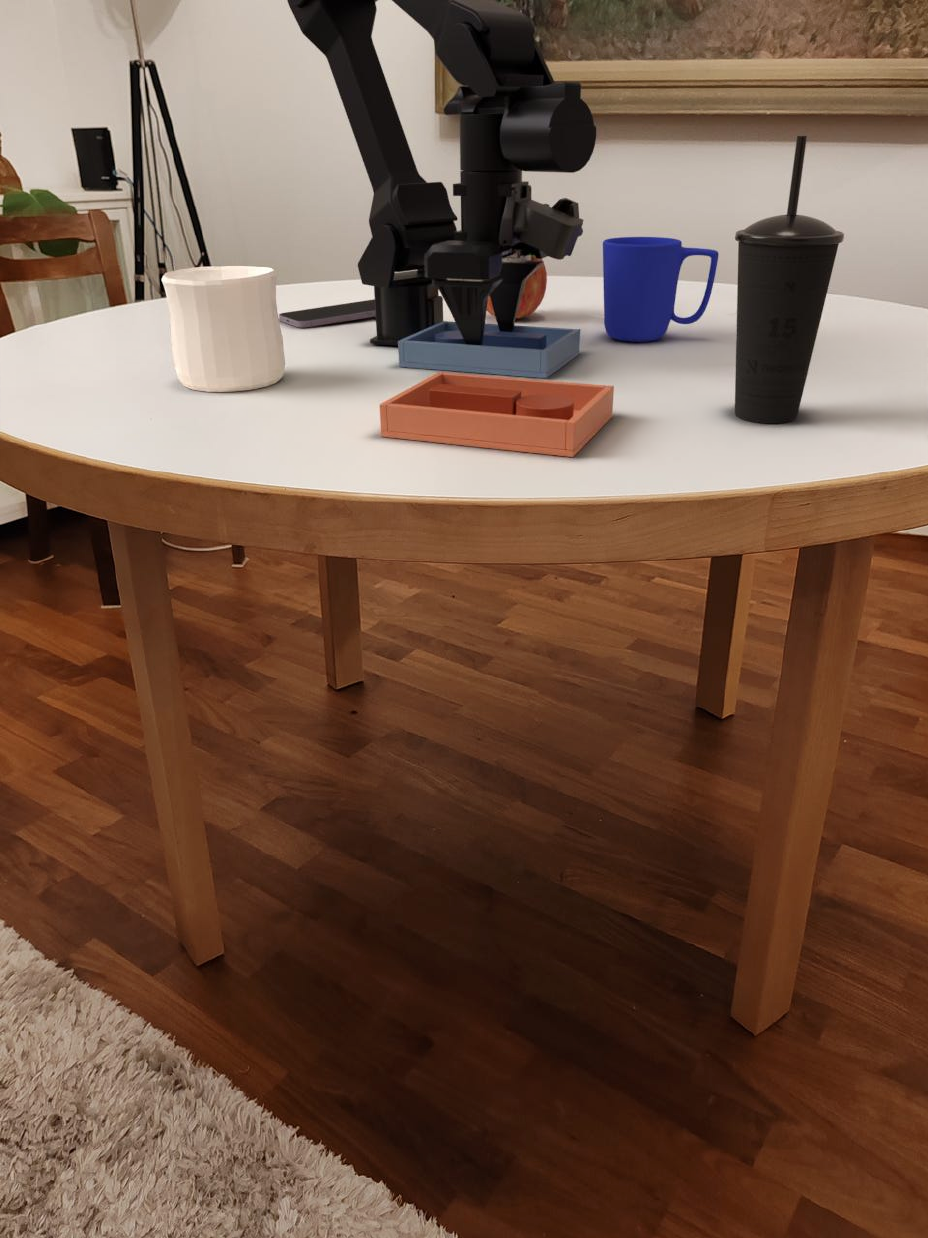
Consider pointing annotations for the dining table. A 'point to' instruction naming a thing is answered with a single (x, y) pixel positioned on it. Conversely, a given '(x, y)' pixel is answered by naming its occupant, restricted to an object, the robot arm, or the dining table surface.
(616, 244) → the mug
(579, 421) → the terracotta tray
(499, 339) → the blue spoon
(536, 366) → the blue tray
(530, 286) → the fruit
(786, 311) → the drinking cup
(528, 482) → the dining table surface
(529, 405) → the terracotta spoon
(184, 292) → the cup
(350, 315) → the smartphone
